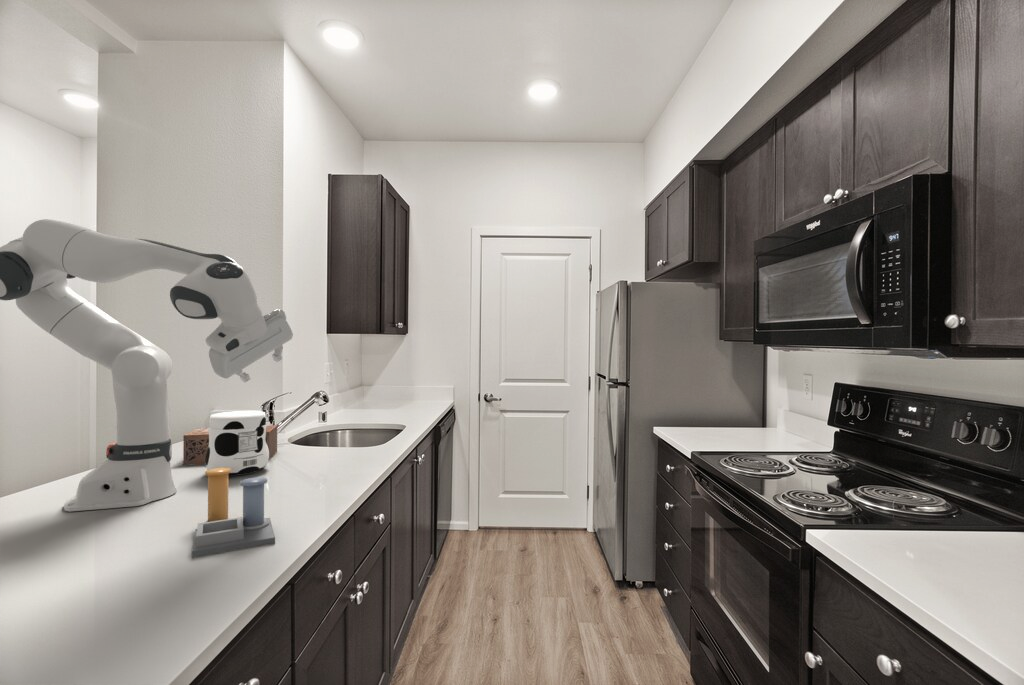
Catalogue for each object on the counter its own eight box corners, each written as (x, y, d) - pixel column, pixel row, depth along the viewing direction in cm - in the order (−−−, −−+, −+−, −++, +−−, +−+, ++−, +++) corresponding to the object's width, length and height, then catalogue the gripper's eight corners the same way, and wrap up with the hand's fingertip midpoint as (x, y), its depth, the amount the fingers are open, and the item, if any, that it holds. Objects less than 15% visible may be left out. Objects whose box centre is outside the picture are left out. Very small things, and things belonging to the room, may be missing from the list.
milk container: (227, 465, 165) (227, 410, 165) (279, 465, 164) (279, 410, 164) (191, 479, 148) (192, 418, 148) (250, 480, 147) (250, 418, 147)
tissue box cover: (277, 452, 186) (277, 425, 186) (269, 461, 172) (269, 431, 172) (198, 456, 179) (198, 428, 179) (183, 465, 165) (183, 435, 165)
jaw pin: (204, 524, 111) (204, 474, 111) (205, 517, 115) (205, 469, 115) (231, 520, 113) (231, 471, 113) (231, 513, 118) (231, 466, 118)
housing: (192, 557, 94) (192, 500, 94) (195, 534, 105) (195, 483, 105) (275, 543, 101) (275, 489, 101) (269, 523, 112) (270, 474, 112)
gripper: (274, 302, 129) (288, 344, 138) (198, 343, 116) (218, 387, 124) (290, 310, 127) (303, 352, 135) (214, 353, 113) (234, 397, 122)
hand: (262, 369), depth 130 cm, fingers open, 8 cm apart
